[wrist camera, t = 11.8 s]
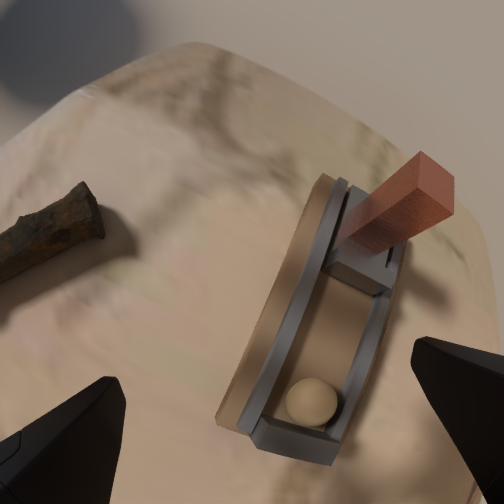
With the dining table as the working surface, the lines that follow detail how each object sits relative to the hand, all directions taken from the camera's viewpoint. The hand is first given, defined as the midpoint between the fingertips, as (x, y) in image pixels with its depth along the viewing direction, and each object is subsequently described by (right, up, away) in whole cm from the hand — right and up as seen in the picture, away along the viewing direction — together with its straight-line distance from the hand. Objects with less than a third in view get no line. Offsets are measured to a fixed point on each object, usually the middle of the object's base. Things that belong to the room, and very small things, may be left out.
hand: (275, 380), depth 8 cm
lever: (+7, +4, +14) cm, 16 cm away
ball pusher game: (+5, -1, +14) cm, 15 cm away
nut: (+3, -6, +10) cm, 12 cm away
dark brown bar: (-20, +2, +10) cm, 23 cm away
